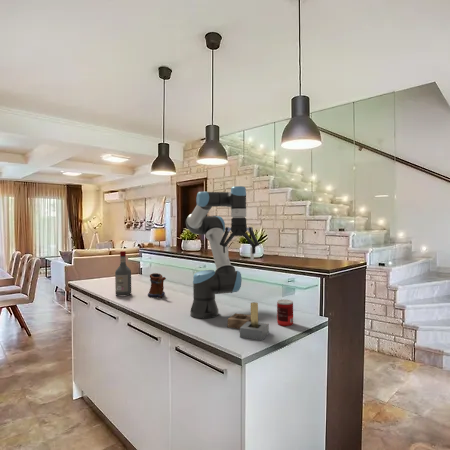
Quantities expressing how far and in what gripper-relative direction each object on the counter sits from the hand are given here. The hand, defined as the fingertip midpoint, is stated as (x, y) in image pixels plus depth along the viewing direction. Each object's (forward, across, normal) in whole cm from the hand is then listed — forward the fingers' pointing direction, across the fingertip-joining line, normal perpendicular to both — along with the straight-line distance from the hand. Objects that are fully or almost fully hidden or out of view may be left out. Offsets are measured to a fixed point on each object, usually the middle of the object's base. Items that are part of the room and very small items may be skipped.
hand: (239, 260), depth 163 cm
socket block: (+31, +13, -16) cm, 37 cm away
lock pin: (+31, +13, -16) cm, 37 cm away
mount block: (+31, +3, -6) cm, 31 cm away
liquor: (+31, -97, +27) cm, 105 cm away
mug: (+31, -70, +30) cm, 82 cm away
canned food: (+31, +22, +4) cm, 38 cm away
